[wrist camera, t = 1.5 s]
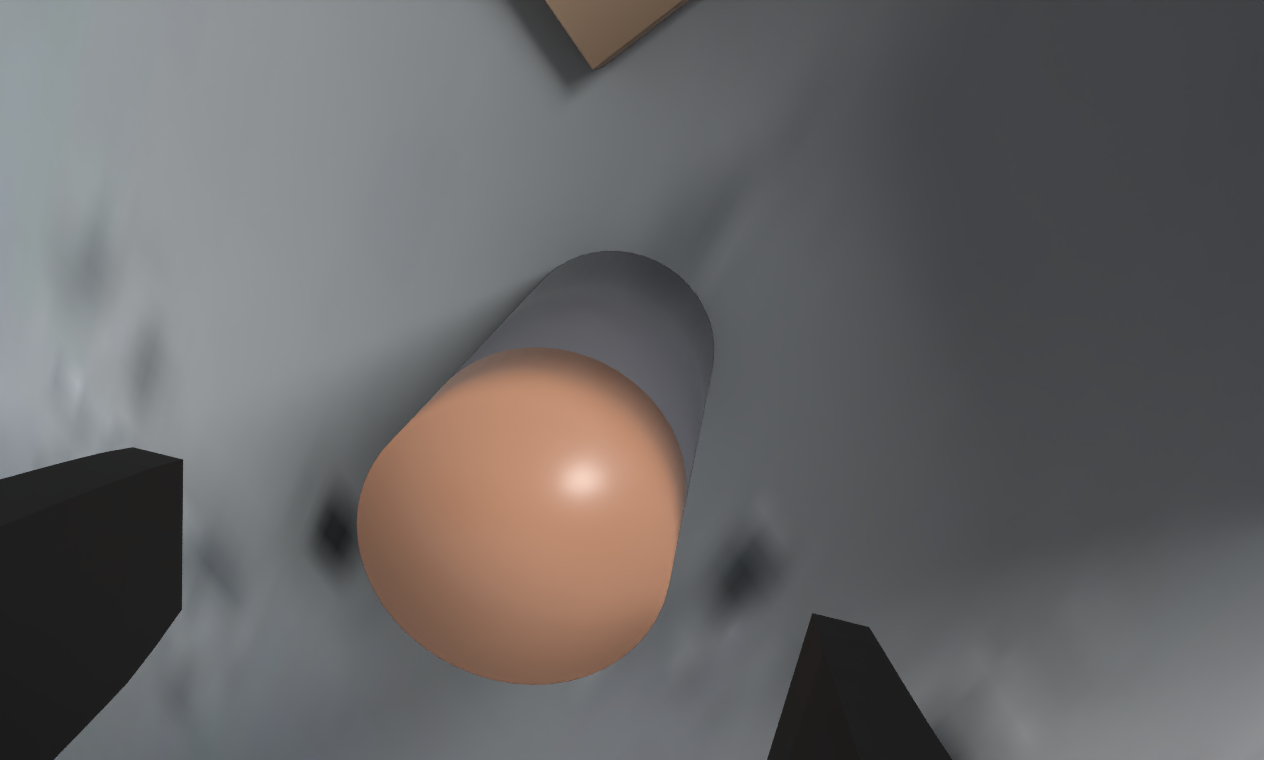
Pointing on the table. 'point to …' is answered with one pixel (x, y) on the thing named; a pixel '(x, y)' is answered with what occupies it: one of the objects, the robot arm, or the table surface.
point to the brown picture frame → (609, 24)
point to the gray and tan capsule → (547, 478)
